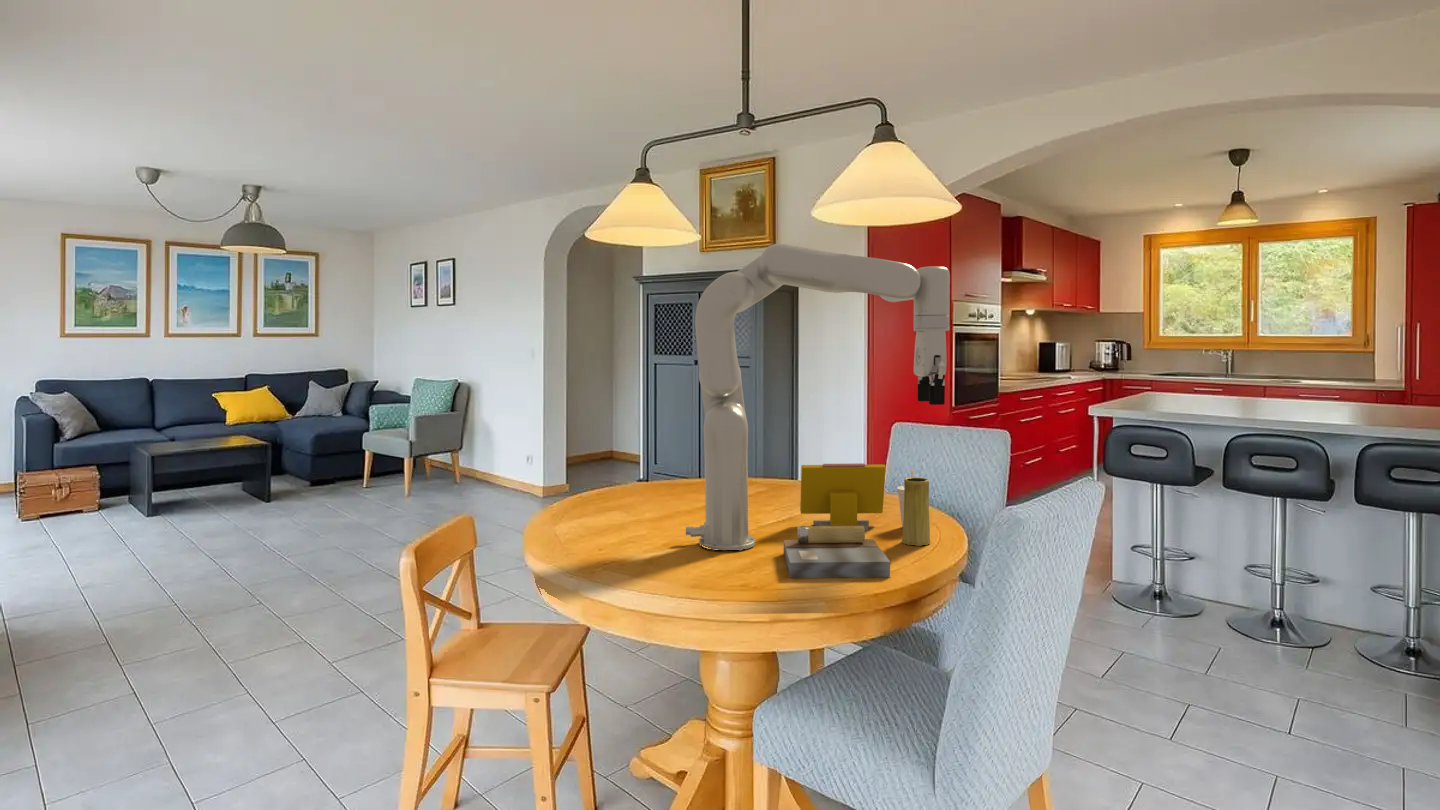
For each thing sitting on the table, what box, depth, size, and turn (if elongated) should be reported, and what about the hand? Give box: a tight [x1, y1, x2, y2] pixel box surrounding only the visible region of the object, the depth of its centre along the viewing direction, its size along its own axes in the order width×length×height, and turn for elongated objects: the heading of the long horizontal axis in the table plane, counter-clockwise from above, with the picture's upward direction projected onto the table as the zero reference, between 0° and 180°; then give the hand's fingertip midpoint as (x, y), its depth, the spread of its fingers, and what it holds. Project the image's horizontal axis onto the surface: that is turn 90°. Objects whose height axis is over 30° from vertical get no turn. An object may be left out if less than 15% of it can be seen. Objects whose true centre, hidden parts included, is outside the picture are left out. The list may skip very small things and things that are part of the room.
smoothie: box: [896, 469, 914, 528], centre depth 185 cm, size 6×6×14 cm
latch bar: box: [796, 525, 866, 543], centre depth 160 cm, size 14×3×3 cm, turn 89°
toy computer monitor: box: [799, 462, 887, 532], centre depth 186 cm, size 20×8×16 cm, turn 88°
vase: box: [901, 477, 931, 547], centre depth 171 cm, size 6×6×14 cm
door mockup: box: [783, 538, 891, 579], centre depth 155 cm, size 19×17×3 cm
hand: (930, 402), depth 169 cm, fingers open, 9 cm apart
